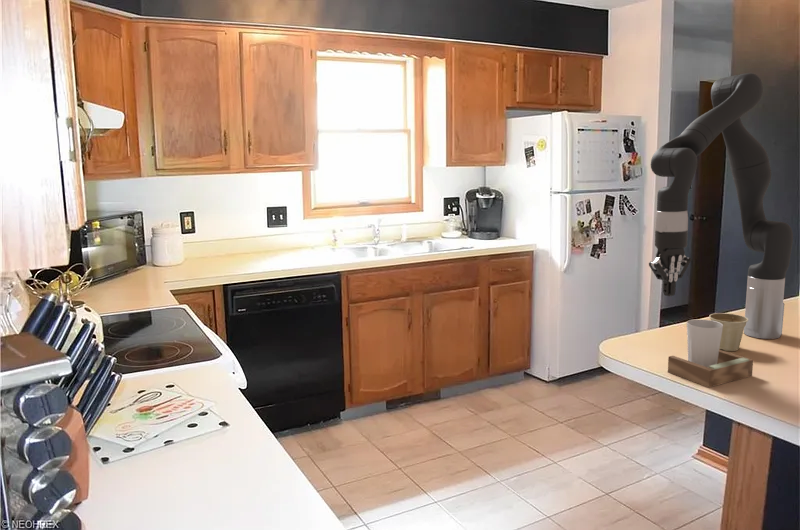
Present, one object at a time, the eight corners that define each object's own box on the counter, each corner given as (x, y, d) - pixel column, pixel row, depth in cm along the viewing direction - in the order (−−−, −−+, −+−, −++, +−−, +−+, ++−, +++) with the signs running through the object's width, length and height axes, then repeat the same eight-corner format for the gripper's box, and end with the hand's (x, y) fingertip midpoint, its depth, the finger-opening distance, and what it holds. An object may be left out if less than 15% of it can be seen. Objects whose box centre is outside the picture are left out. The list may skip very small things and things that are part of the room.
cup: (684, 363, 156) (687, 318, 154) (719, 367, 153) (722, 321, 151) (683, 373, 149) (685, 326, 147) (720, 378, 146) (723, 329, 144)
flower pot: (754, 350, 165) (756, 319, 163) (728, 355, 162) (730, 323, 160) (724, 341, 174) (726, 311, 172) (699, 345, 170) (701, 315, 169)
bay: (709, 361, 157) (711, 345, 156) (752, 375, 147) (753, 358, 146) (667, 372, 151) (668, 354, 150) (708, 387, 141) (709, 369, 140)
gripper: (677, 224, 160) (675, 289, 164) (640, 229, 155) (638, 296, 158) (702, 227, 154) (699, 294, 157) (664, 232, 148) (662, 302, 151)
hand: (669, 295), depth 157 cm, fingers closed
